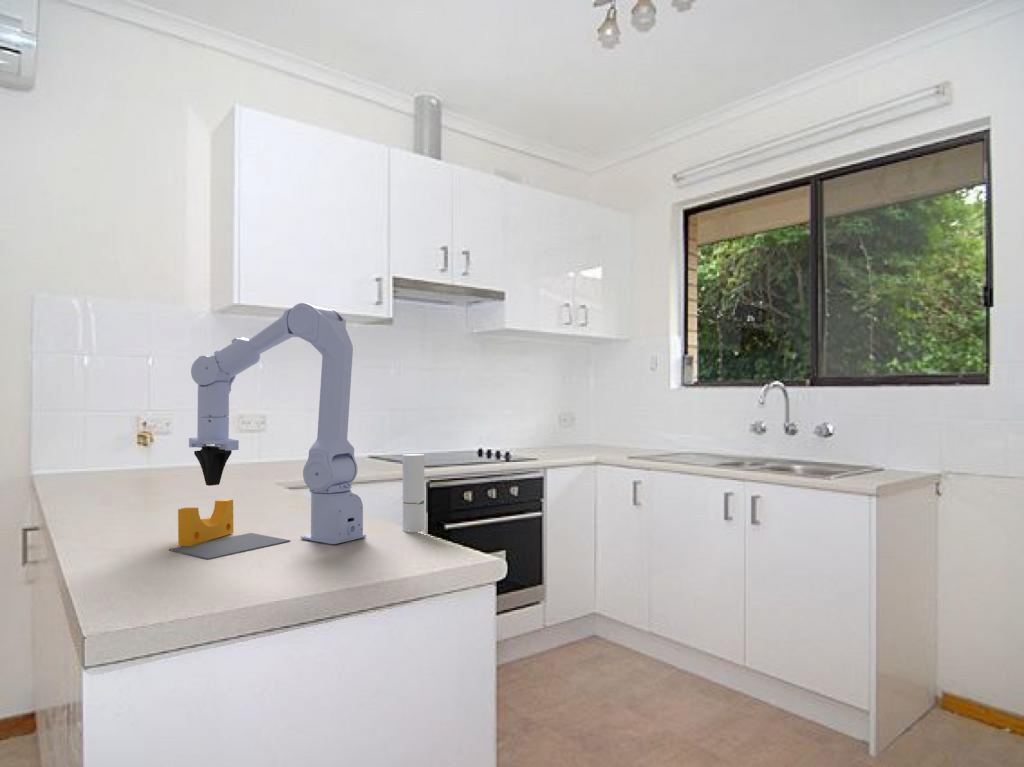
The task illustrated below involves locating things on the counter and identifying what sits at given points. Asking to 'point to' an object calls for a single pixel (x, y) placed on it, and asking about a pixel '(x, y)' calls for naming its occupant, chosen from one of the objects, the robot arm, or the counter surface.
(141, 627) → the counter surface
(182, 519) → the pipe clamp
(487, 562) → the counter surface
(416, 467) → the tube
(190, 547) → the mat
